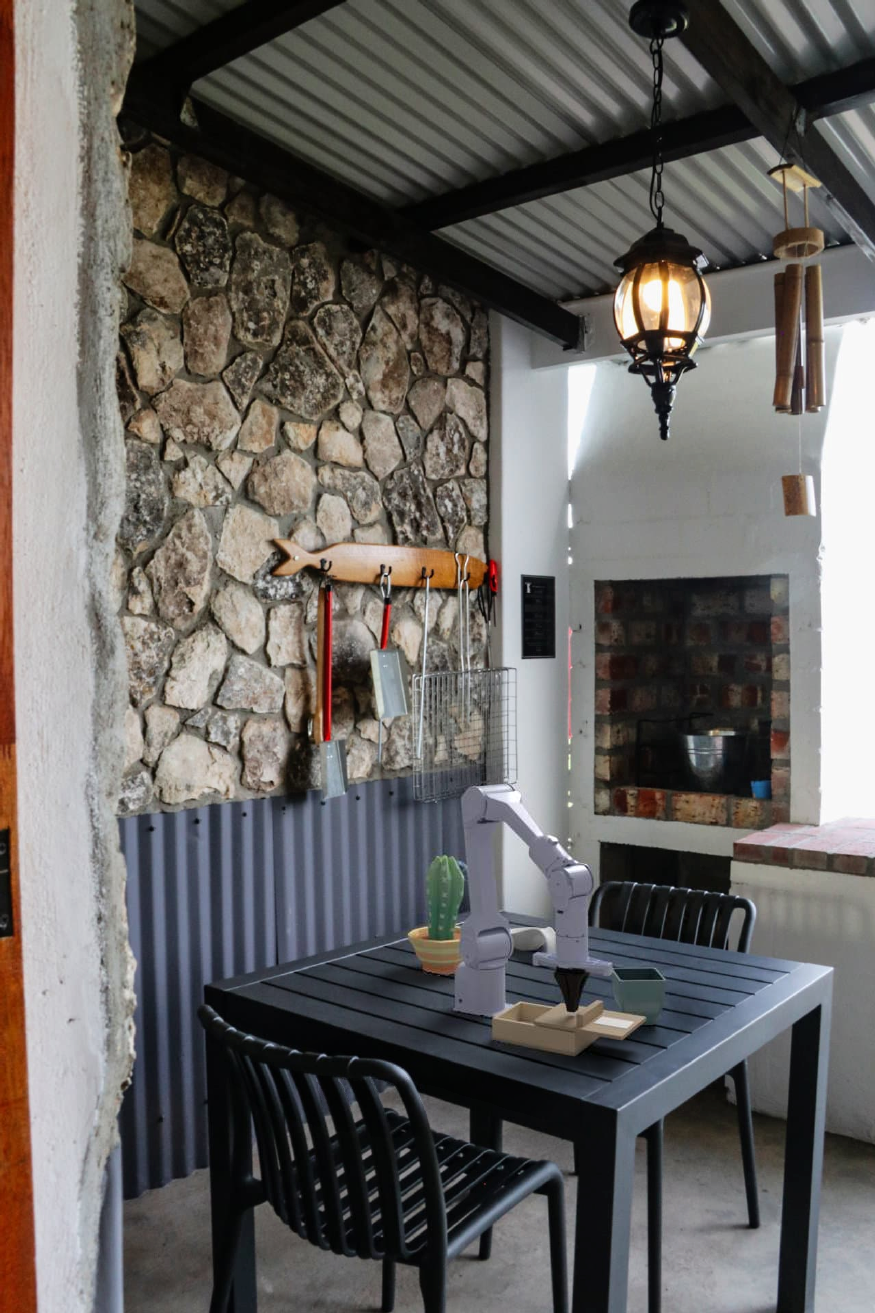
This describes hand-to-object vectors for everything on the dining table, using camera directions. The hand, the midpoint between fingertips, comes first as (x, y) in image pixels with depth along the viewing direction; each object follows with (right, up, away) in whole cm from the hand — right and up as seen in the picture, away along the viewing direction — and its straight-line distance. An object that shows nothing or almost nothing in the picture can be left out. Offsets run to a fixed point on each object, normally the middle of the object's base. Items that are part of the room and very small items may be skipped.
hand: (572, 1010), depth 191 cm
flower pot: (+14, -6, +11) cm, 19 cm away
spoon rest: (-1, -7, +61) cm, 62 cm away
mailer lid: (+3, -2, -2) cm, 4 cm away
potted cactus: (-23, -7, +48) cm, 53 cm away
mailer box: (-4, -6, +3) cm, 8 cm away
